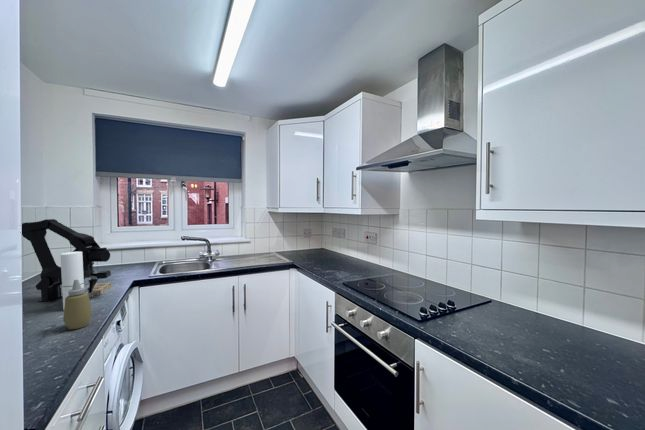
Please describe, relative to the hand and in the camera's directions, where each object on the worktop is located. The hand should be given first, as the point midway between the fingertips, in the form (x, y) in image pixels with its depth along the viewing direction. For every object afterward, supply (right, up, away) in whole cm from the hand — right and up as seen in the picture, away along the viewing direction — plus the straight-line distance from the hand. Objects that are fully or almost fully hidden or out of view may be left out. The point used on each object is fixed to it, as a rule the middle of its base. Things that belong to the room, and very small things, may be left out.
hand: (86, 293), depth 130 cm
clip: (0, -3, 0) cm, 3 cm away
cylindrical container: (+4, -4, -10) cm, 12 cm away
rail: (-4, -2, +12) cm, 13 cm away
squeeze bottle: (+22, -5, -28) cm, 36 cm away
